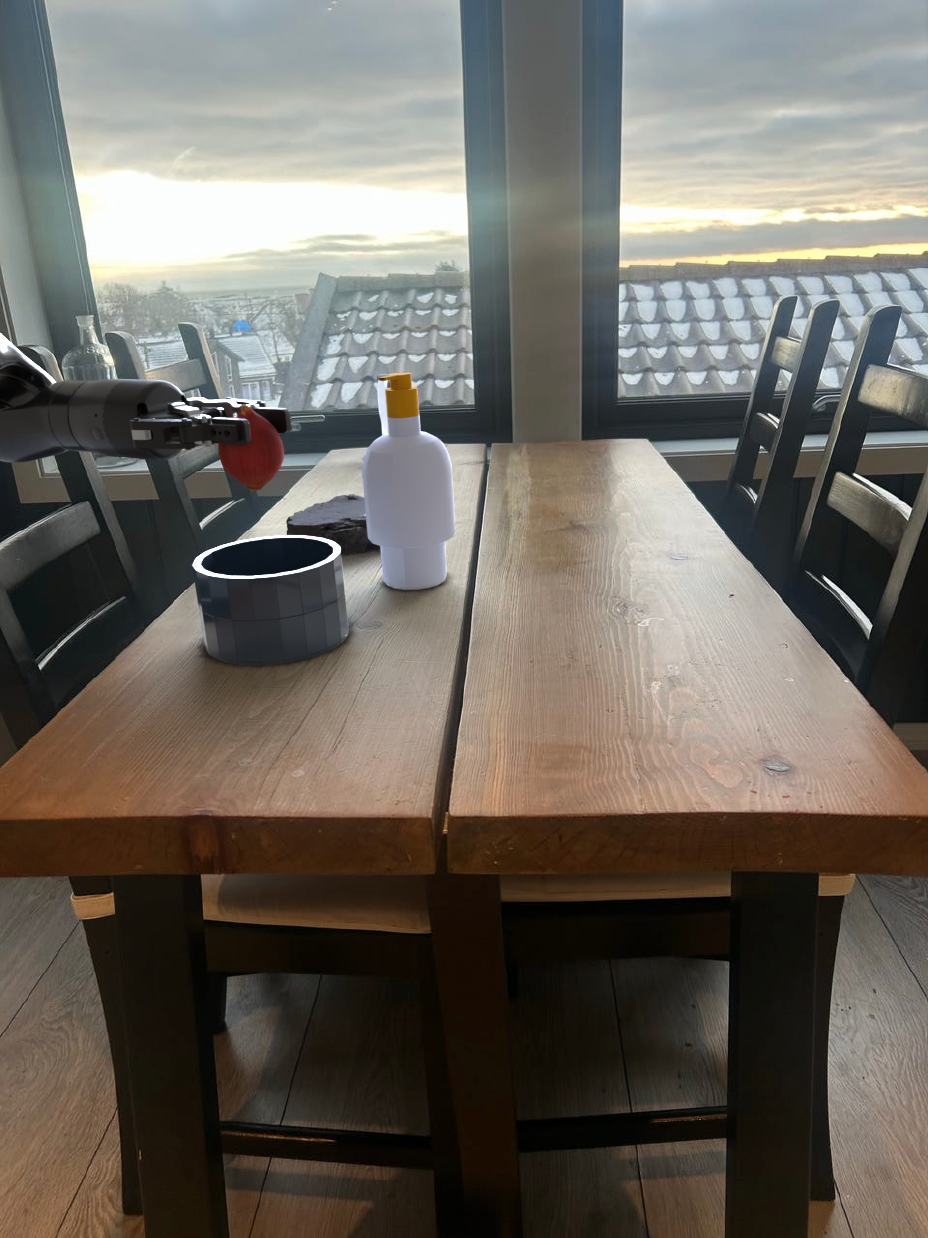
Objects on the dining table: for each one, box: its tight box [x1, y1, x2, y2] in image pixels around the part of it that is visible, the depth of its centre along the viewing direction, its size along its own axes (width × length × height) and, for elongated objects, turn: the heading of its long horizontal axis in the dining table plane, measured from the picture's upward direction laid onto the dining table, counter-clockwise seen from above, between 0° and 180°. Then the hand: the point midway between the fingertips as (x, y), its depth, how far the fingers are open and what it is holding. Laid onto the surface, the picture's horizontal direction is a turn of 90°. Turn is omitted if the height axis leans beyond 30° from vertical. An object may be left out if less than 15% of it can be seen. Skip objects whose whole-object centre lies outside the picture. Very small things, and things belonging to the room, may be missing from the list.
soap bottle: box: [361, 372, 457, 591], centre depth 114 cm, size 10×10×24 cm
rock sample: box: [285, 493, 381, 556], centre depth 136 cm, size 18×16×5 cm
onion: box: [217, 404, 285, 492], centre depth 91 cm, size 6×6×8 cm
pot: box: [191, 535, 350, 667], centre depth 102 cm, size 15×15×9 cm
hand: (268, 426), depth 90 cm, fingers closed on onion, 5 cm apart
